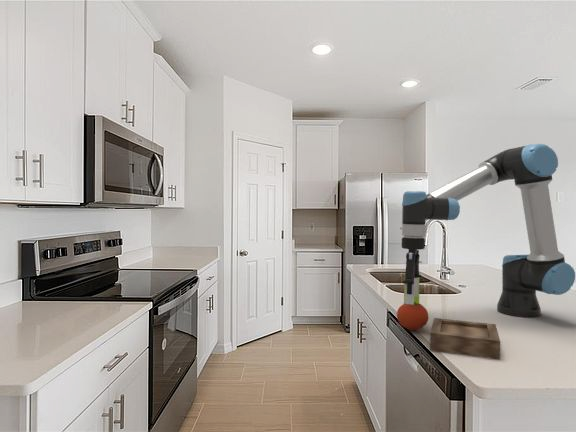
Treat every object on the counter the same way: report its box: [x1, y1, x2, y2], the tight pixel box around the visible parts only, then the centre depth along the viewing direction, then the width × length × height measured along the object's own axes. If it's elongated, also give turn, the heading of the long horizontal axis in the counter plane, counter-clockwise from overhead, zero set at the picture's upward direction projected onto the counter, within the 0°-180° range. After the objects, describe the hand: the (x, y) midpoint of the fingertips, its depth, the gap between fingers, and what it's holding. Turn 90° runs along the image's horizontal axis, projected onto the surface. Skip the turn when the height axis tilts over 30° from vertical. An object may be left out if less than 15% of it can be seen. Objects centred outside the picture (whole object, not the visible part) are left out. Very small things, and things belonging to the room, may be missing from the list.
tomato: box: [396, 302, 429, 331], centre depth 138 cm, size 10×10×10 cm
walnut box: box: [429, 317, 501, 360], centre depth 123 cm, size 18×18×5 cm
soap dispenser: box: [403, 260, 423, 304], centre depth 166 cm, size 6×7×20 cm
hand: (411, 300), depth 138 cm, fingers open, 13 cm apart
